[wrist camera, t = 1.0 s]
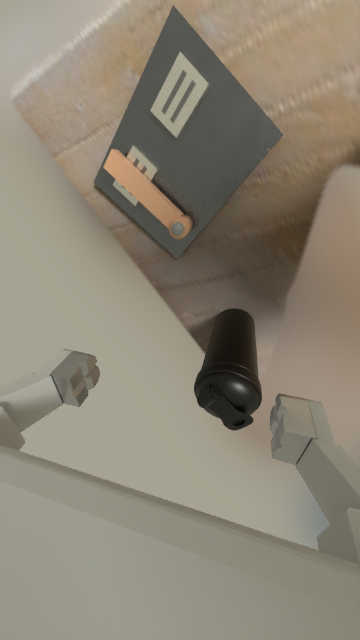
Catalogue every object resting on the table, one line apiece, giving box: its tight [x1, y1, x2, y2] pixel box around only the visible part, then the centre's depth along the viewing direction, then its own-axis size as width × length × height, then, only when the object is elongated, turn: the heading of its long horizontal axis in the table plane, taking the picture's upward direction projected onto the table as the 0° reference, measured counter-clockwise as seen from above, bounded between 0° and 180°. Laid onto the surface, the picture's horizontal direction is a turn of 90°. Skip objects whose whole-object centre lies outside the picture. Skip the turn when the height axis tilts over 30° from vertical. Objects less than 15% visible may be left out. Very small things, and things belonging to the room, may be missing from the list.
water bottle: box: [194, 309, 262, 430], centre depth 42 cm, size 10×10×23 cm
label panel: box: [94, 6, 283, 259], centre depth 36 cm, size 24×20×3 cm
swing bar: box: [103, 149, 193, 239], centre depth 37 cm, size 17×3×5 cm, turn 51°
